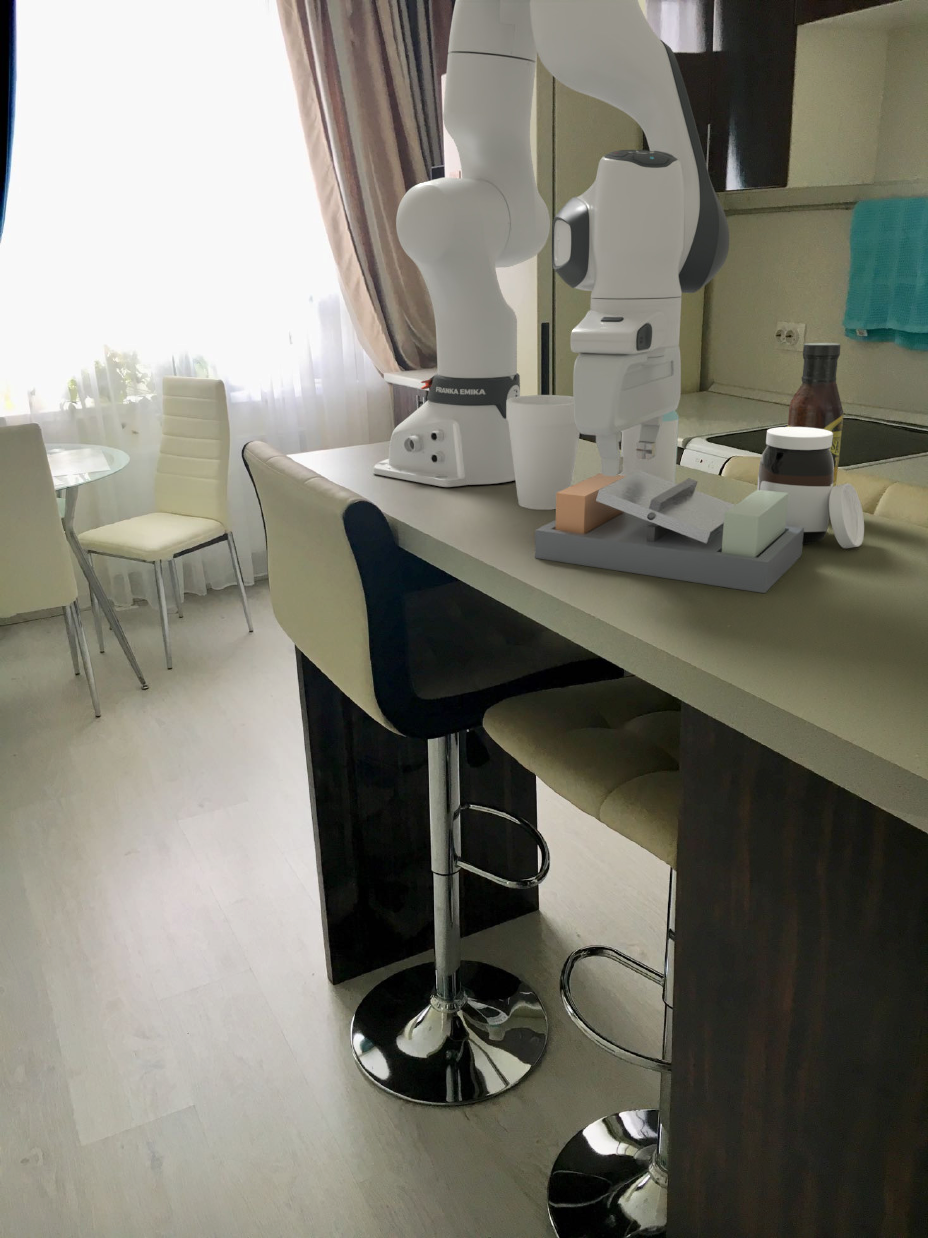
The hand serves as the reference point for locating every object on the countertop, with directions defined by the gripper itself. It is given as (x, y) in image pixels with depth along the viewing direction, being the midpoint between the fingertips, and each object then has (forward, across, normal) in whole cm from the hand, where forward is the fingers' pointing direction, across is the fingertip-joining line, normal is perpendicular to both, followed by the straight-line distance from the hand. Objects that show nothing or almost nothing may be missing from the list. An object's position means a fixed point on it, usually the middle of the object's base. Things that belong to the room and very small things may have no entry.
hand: (629, 466), depth 105 cm
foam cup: (+9, -15, -17) cm, 25 cm away
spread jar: (+10, -14, +16) cm, 23 cm away
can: (+9, -25, -7) cm, 28 cm away
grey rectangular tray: (+9, 0, +5) cm, 10 cm away
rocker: (+4, 0, +5) cm, 6 cm away
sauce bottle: (+9, -26, +13) cm, 30 cm away
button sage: (+6, 0, +13) cm, 15 cm away
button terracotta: (+6, 0, -4) cm, 7 cm away
